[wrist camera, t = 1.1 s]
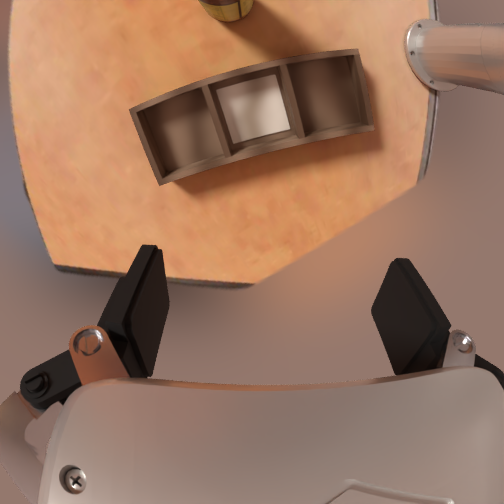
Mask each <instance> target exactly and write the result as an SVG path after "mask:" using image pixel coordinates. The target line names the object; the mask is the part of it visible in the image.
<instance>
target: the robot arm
mask: <svg viewBox="0 0 504 504" xmlns="http://www.w3.org/2000/svg"><path fill="white" fill-rule="evenodd" d="M405 52H406V57H407V60H408V62H409V65H410V67H411V69H412V70H413V72H414V73H415V75H416V76H417V77H418V78H419V79H420V80H421V81H422V82H423V83H424V84H425V85H426V86H428V87H430V88H432V89H435V90H438V91H450V90H453V89H455V88H456V87H458V86H459V85H462V86H468V87H473V88H477V89H482V90H486V91H491V92H495V93H498V94H502V95H504V23H475V24H458V25H447V26H445V25H443V24H442V23H440V22H438V21H436V20H432V19H422V20H418V21H416V22H414V23H413V24H412V25H411V26H410V27H409V28H408V30H407V32H406V35H405ZM410 53H411V54H410ZM168 310H169V296H168V289H167V282H166V275H165V268H164V260H163V253H162V250H161V249H158V247H157V246H156V245H142V246H141V248H140V250H139V251H138V253H137V255H136V257H135V259H134V261H133V263H132V265H131V267H130V269H129V271H128V273H127V275H126V277H123V276H122V277H121V278H120V279H119V281H118V283H117V285H116V287H115V289H114V290H113V293H112V294H111V297H110V299H109V301H108V303H107V305H106V307H105V309H104V311H103V313H102V316H101V318H100V320H99V322H98V325H97V326H95V325H88V326H84V327H82V328H80V329H78V330H77V331H75V332H74V333H73V335H72V336H71V338H70V341H69V350H67V351H65V352H63V353H61V354H59V355H57V356H56V357H54V358H52V359H50V360H48V361H46V362H44V363H42V364H40V365H38V366H36V367H35V368H32V369H31V370H29V371H28V372H27V373H26V374H25V375H24V376H23V378H22V380H21V384H20V391H19V392H18V393H16V392H15V391H14V392H13V393H12V394H11V395H10V396H9V397H8V398H7V399H6V400H5V401H4V402H3V403H2V404H1V405H0V463H1V464H2V466H3V467H4V469H5V470H6V472H7V473H8V474H9V476H10V477H11V479H12V480H13V481H14V483H15V484H16V485H17V487H18V488H19V489H20V491H21V492H22V493H23V495H24V496H25V497H26V498H27V500H28V501H29V502H30V503H31V504H504V373H503V372H502V371H501V370H500V369H499V368H497V367H496V366H494V365H493V364H491V363H489V362H488V361H486V360H485V359H483V358H481V357H480V356H478V355H477V354H475V352H476V346H475V343H474V341H473V339H472V338H471V337H470V336H469V335H468V334H467V333H466V332H464V331H461V330H454V331H452V332H451V333H450V332H449V331H448V330H449V329H450V327H451V324H450V322H449V320H448V319H447V317H446V315H445V314H444V312H443V311H442V309H441V307H440V305H439V304H438V302H437V301H436V299H435V297H434V296H433V294H432V293H431V291H430V289H429V288H428V286H427V285H426V283H425V282H424V281H423V279H422V277H421V276H420V274H419V273H418V271H417V270H416V269H415V267H414V266H413V264H412V263H411V261H410V260H409V259H407V258H396V259H395V260H394V261H392V262H391V264H390V266H389V268H388V271H387V273H386V276H385V278H384V280H383V283H382V285H381V288H380V290H379V292H378V294H377V297H376V299H375V301H374V303H373V306H372V309H371V313H372V316H373V319H374V321H375V323H376V326H377V329H378V331H379V334H380V336H381V338H382V341H383V344H384V346H385V349H386V352H387V354H388V357H389V360H390V363H391V365H392V368H393V371H394V373H395V375H396V376H390V377H382V378H374V379H366V380H357V381H346V382H336V383H320V384H298V385H236V384H215V383H198V382H183V381H173V380H163V379H148V378H147V377H151V376H152V374H153V370H154V366H155V361H156V357H157V353H158V349H159V344H160V341H161V337H162V333H163V329H164V325H165V321H166V318H167V314H168ZM49 439H50V442H49V446H48V450H47V453H46V445H47V442H48V441H49Z"/></svg>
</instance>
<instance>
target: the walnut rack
mask: <svg viewBox="0 0 504 504" xmlns="http://www.w3.org/2000/svg"><path fill="white" fill-rule="evenodd" d="M129 111H130V114H131V117H132V119H133V122H134V125H135V127H136V130H137V132H138V135H139V137H140V140H141V143H142V145H143V148H144V150H145V153H146V155H147V158H148V160H149V162H150V165H151V167H152V170H153V172H154V175H155V177H156V179H157V182H158V184H159V186H160V185H163V184H166V183H169V182H172V181H175V180H178V179H181V178H183V177H186V176H190V175H193V174H196V173H199V172H202V171H205V170H208V169H211V168H215V167H218V166H221V165H225V164H228V163H231V162H235V161H238V160H242V159H246V158H249V157H253V156H257V155H260V154H264V153H268V152H272V151H276V150H280V149H284V148H288V147H293V146H297V145H301V144H306V143H310V142H315V141H320V140H325V139H330V138H335V137H340V136H345V135H351V134H356V133H362V132H368V131H375V130H374V123H373V117H372V111H371V105H370V100H369V95H368V89H367V85H366V80H365V75H364V71H363V67H362V63H361V59H360V55H359V51H358V49H347V50H336V51H327V52H320V53H312V54H306V55H300V56H294V57H288V58H283V59H278V60H273V61H269V62H264V63H260V64H256V65H252V66H248V67H244V68H240V69H236V70H233V71H229V72H226V73H222V74H219V75H216V76H213V77H209V78H206V79H203V80H200V81H197V82H195V83H192V84H189V85H186V86H183V87H181V88H178V89H175V90H173V91H170V92H168V93H165V94H163V95H160V96H158V97H156V98H153V99H151V100H149V101H146V102H144V103H142V104H140V105H137V106H135V107H133V108H131V109H129Z"/></svg>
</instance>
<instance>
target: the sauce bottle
mask: <svg viewBox="0 0 504 504" xmlns="http://www.w3.org/2000/svg"><path fill="white" fill-rule="evenodd" d="M198 1H199V2H200V3H201V5H202V6H203V7H204V9H205V10H206V11H207V13H208V14H209V15H210V16H211V17H213V18H215V19H217V20H220V21H222V22H232V21H237V20H240V19H242V18H244V17H245V16H246V15H247V14H248V13H249V11H250V10H251V8H252V6H253V0H198Z"/></svg>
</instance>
